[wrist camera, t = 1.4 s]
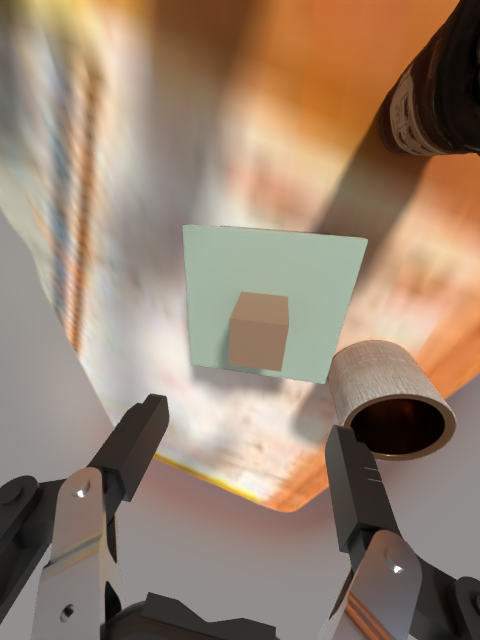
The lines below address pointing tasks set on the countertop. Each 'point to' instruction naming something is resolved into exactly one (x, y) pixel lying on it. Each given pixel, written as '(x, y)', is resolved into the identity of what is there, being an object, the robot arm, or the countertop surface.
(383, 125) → the coffee cup
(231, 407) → the countertop surface
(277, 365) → the lid
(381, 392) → the planter
